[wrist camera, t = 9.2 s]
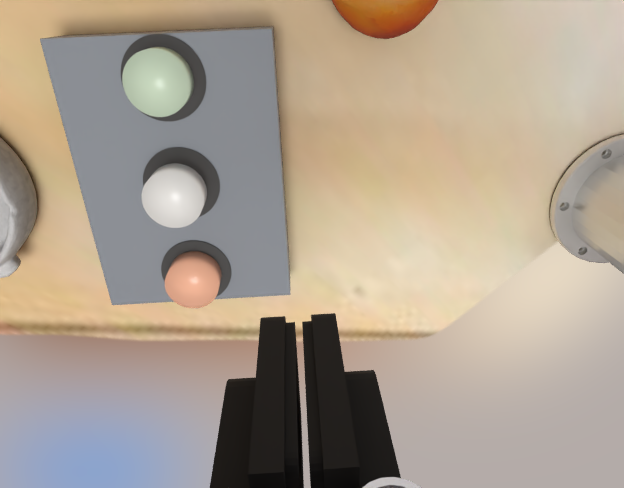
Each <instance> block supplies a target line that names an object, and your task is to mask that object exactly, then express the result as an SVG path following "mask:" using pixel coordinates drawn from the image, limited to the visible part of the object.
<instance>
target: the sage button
mask: <svg viewBox="0 0 624 488" xmlns="http://www.w3.org/2000/svg"><path fill="white" fill-rule="evenodd" d="M122 82H123V87H124V91H125V93H126V95H127V97H128V99H129V100H130V102H131V103H132V104H133V105H134V106H135V107H136V108H137V109H138V110H140V111H141V112H143V113H145V114H147V115H150V116H154V117H166V116H170V115H172V114H174V113H176V112H177V111H179V110H180V109H181V108H182V107H183V106H184V105H185V104H186V103H187V102H188V101H189V99H190V97H191V95H192V93H193V89H194V78H193V73H192V71H191V68H190V66H189V65H188V63H187V62H186V60H185V59H184V58H183V57H182V56H181V55H180V54H178V53H177V52H175V51H173V50H171V49H169V48H165V47H152V48H148V49H145V50H142V51H139V52H137V53H136V54H134V55H133V56H132V57H130V59H129V60H128V61H127V63H126V64H125V67H124V70H123V75H122Z"/></svg>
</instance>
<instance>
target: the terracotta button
mask: <svg viewBox="0 0 624 488" xmlns="http://www.w3.org/2000/svg"><path fill="white" fill-rule="evenodd" d="M221 276H222V274H221V269H220V266H219V265H218V263H217V262H216V261H215V259H213V258H212V257H211V256H209V255H207V254H205V253H202V252H197V251H190V252H185V253H182V254H181V255H179V256H177V257H176V258H175V259H174V261H173V262H172V264H171V266H170V268H169V271H168V273H167V275H166V278H165V289H166V292H167V294H168V296H169V297H170V298H171V299H172V300H173V301H174V302H176V303H177V304H179V305H181V306H184V307H188V308H200V307H204V306H206V305H208V304H210V303H211V302H212V301H213V300H214V299H215V298H216V296H217V294H218V290H219V286H220V281H221Z"/></svg>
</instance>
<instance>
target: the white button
mask: <svg viewBox="0 0 624 488" xmlns="http://www.w3.org/2000/svg"><path fill="white" fill-rule="evenodd" d="M206 198H207V189H206V185H205V182H204V180H203V179H202V177H201V176H200V175H199V174H198V173H197V172H196V171H195V170H194V169H192V168H191V167H189V166H186V165H183V164H178V163H172V164H167V165H164V166H162V167H160V168H158V169H157V170H156V171H155V172H154V173H153V174H152V176H151V177H150V178H149V179H148V181H147V182H146V183H145V185H144V187H143V190H142V204H143V207H144V209H145V211H146V213H147V214H148V215H149V216H150V217H151V218H152V219H153V220H154V221H155V222H157V223H158V224H160V225H163V226H166V227H170V228H181V227H185V226H188V225H190V224H192V223H193V222H194V221H195V220H196V219H197V218H198V217H199V215H200V214H201V211H202V209H203V206H204V204H205V201H206Z"/></svg>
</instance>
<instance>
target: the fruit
mask: <svg viewBox="0 0 624 488" xmlns="http://www.w3.org/2000/svg"><path fill="white" fill-rule="evenodd" d="M332 1H333V3H334V5H335V7H336V9H337V10H338V12H339V13H340V14H341V16H342V17H343V18H344V19H345V20H346V21H347V22H348V23H349V24H350V25H351V26H352V27H353V28H354V29H355V30H357V31H359V32H361V33H363V34H365V35H368V36H371V37H375V38H383V39H389V38H394V37H397V36H400V35H402V34H405V33H407V32H409V31H411V30H412V29H414V28H415V27H416V26H417V25H418V24H419V23H420V22H421V21H422V20H423V19H424V18H425V17H426V16H427V15H428V14H429V13H430V12H431V11H432V9H433V8H434V7H435V5H436V3H437V2H438V0H332Z"/></svg>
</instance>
